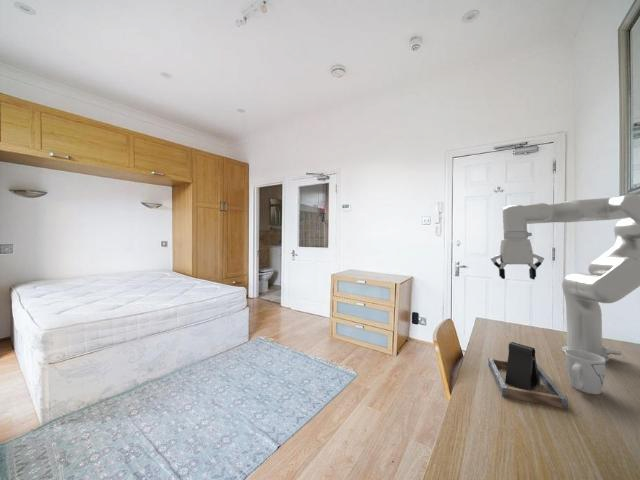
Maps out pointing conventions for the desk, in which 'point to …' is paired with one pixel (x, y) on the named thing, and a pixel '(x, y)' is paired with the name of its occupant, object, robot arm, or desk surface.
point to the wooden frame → (548, 399)
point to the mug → (585, 370)
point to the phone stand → (522, 367)
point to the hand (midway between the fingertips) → (517, 278)
